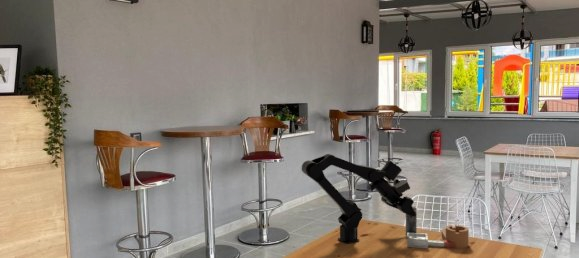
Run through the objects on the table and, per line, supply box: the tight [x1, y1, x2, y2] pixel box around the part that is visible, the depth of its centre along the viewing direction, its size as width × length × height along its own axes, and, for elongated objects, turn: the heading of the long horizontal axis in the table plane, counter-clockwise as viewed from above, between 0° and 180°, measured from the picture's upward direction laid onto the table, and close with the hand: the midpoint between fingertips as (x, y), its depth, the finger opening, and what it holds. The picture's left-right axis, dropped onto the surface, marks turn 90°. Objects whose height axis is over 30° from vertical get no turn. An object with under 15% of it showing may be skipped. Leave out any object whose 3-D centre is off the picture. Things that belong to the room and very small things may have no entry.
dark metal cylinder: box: [405, 206, 418, 235], centre depth 190 cm, size 4×4×11 cm
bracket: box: [441, 224, 470, 249], centre depth 181 cm, size 18×8×7 cm, turn 170°
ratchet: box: [406, 232, 456, 249], centre depth 176 cm, size 8×18×3 cm, turn 76°
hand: (409, 213), depth 190 cm, fingers open, 9 cm apart
